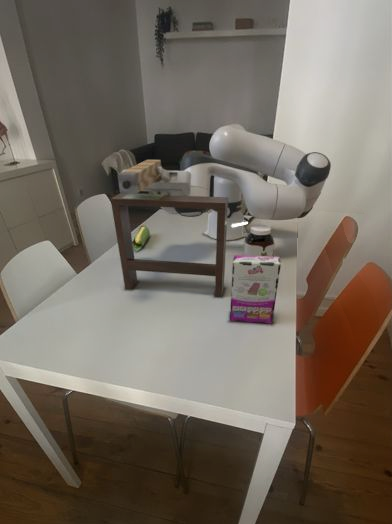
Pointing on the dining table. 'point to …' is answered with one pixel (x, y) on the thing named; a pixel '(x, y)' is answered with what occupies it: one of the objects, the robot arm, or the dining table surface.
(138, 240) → the edible corn
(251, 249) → the spread jar
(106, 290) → the dining table surface
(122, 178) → the light wood square bar
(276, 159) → the robot arm
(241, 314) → the candy bar box
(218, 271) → the dark brown wooden frame
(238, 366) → the dining table surface
